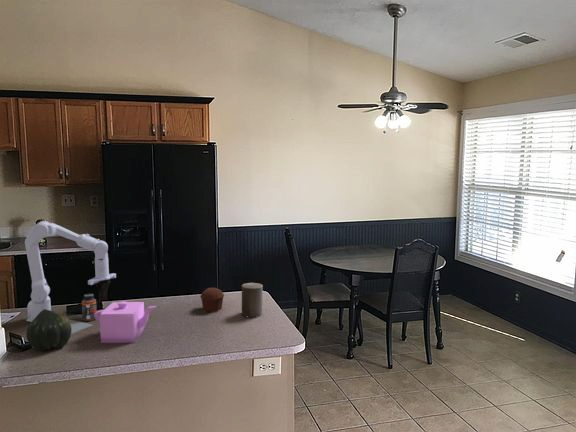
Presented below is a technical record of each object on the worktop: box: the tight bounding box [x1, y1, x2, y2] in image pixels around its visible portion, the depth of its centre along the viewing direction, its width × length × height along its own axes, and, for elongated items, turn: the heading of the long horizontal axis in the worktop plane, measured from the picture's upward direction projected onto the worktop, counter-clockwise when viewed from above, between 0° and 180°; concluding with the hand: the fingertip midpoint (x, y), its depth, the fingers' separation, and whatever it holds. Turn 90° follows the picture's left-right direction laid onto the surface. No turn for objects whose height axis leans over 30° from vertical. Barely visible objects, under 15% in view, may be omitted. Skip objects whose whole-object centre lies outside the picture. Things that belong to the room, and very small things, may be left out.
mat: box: [67, 318, 94, 335], centre depth 191 cm, size 16×15×1 cm
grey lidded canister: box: [241, 282, 264, 318], centre depth 209 cm, size 10×10×15 cm
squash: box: [26, 309, 72, 352], centre depth 172 cm, size 14×15×15 cm
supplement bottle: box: [81, 293, 98, 322], centre depth 201 cm, size 6×6×11 cm
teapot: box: [94, 300, 157, 344], centre depth 183 cm, size 15×25×14 cm, turn 93°
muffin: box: [200, 287, 225, 313], centre depth 216 cm, size 12×11×10 cm
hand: (103, 296), depth 208 cm, fingers closed
